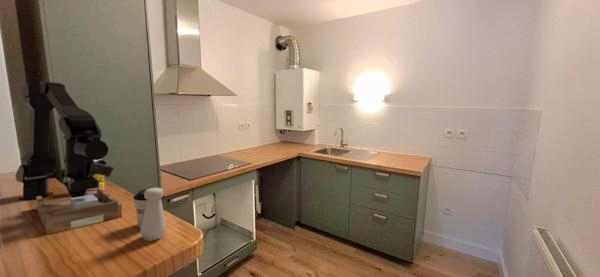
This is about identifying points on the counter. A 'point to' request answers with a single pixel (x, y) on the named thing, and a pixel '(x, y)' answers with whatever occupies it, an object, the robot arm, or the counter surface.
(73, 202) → the block
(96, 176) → the supplement bottle
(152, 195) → the salt shaker
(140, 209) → the coffee cup
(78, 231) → the counter surface
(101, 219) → the wooden tray
